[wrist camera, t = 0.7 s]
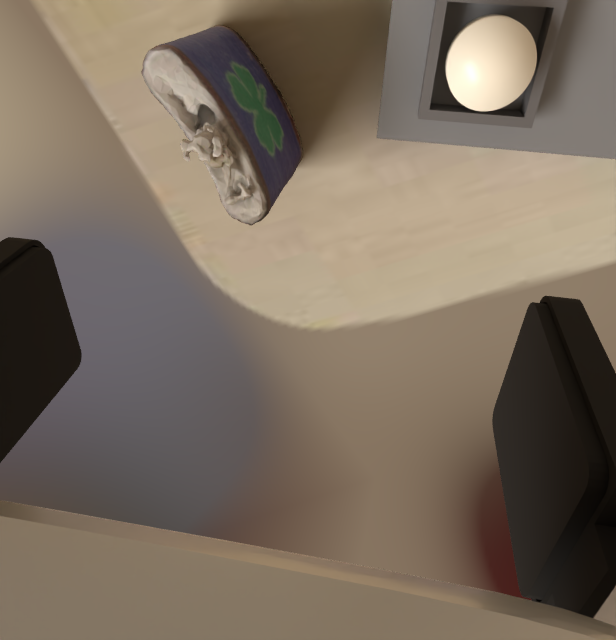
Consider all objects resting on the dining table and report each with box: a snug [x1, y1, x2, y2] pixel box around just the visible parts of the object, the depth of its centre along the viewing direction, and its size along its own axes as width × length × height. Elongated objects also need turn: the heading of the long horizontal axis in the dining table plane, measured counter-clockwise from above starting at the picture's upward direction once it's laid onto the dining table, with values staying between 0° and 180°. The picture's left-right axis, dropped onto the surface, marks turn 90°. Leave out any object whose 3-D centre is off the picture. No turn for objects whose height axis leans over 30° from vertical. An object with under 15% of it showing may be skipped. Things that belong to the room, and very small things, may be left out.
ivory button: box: [445, 14, 537, 111], centre depth 25 cm, size 4×4×2 cm
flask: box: [142, 25, 303, 225], centre depth 27 cm, size 9×3×11 cm, turn 30°
